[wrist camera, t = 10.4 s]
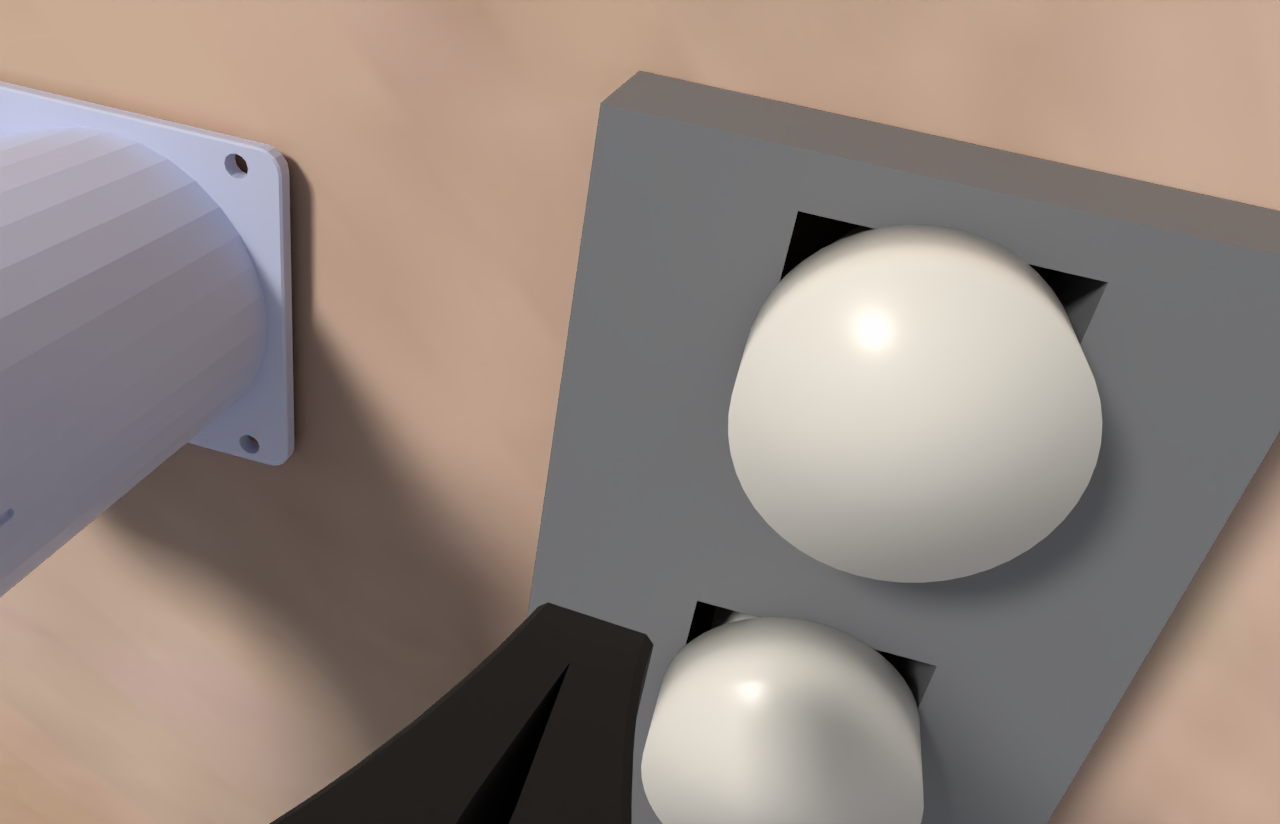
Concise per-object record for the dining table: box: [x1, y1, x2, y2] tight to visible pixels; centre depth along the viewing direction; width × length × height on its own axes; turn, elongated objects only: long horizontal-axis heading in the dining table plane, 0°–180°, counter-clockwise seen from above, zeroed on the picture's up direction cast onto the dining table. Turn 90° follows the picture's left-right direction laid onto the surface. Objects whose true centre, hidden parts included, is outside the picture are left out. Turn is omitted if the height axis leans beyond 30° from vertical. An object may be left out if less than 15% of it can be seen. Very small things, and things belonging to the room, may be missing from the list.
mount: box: [527, 71, 1280, 824], centre depth 23 cm, size 12×24×3 cm, turn 170°
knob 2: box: [641, 606, 924, 824], centre depth 22 cm, size 6×6×5 cm
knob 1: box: [728, 225, 1102, 583], centre depth 17 cm, size 6×6×5 cm
